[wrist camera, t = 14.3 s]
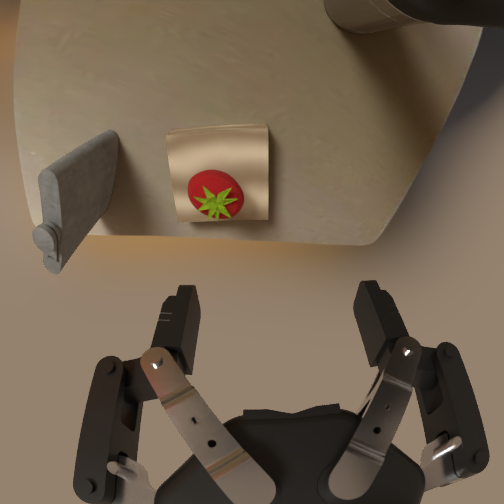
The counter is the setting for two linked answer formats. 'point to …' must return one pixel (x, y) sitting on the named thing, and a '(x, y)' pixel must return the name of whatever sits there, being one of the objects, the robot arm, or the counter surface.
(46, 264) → the hip flask
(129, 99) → the counter surface
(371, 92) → the counter surface
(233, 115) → the counter surface
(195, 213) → the plinth
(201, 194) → the strawberry
